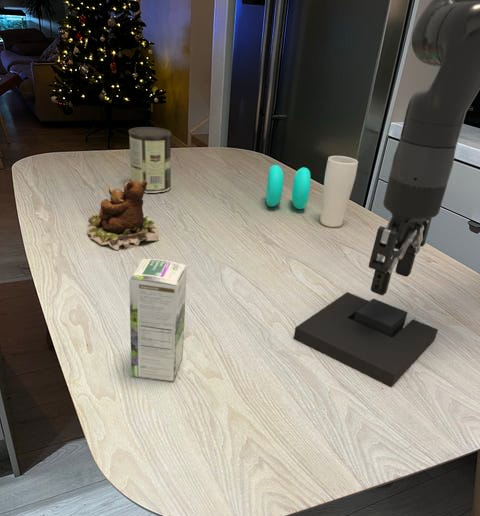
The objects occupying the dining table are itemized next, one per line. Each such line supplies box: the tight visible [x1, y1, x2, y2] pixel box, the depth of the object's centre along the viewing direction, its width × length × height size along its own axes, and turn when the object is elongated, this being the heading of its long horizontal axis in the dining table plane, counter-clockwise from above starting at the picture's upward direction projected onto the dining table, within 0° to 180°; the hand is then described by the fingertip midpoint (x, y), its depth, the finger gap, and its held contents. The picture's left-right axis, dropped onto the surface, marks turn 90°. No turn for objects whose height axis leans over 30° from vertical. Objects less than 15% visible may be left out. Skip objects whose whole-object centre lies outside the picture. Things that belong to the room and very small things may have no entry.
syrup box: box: [128, 258, 188, 382], centre depth 62 cm, size 6×6×14 cm
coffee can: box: [128, 126, 172, 194], centre depth 125 cm, size 10×10×14 cm
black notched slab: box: [293, 291, 439, 388], centre depth 76 cm, size 16×16×2 cm
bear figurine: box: [86, 180, 160, 251], centre depth 99 cm, size 14×15×12 cm
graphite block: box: [354, 298, 408, 338], centre depth 78 cm, size 6×6×3 cm
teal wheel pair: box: [265, 164, 312, 210], centre depth 122 cm, size 10×10×10 cm
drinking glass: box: [319, 155, 359, 228], centre depth 113 cm, size 7×7×15 cm
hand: (390, 283), depth 75 cm, fingers open, 8 cm apart
